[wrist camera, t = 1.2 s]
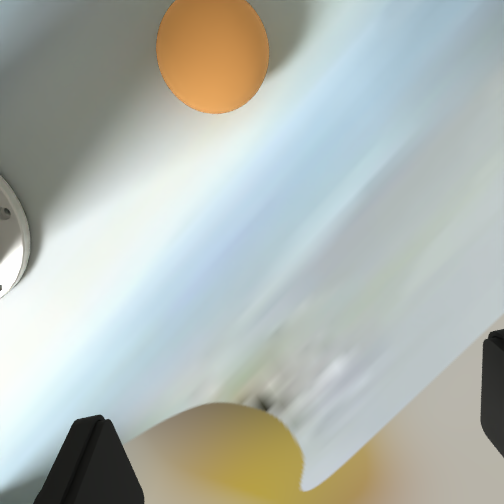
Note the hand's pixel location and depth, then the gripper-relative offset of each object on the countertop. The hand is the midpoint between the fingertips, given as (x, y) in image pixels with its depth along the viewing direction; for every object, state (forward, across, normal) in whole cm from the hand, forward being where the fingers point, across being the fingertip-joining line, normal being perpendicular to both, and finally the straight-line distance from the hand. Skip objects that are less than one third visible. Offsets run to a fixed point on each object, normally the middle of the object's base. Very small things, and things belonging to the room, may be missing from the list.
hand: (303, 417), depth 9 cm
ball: (+16, 0, -10) cm, 19 cm away
